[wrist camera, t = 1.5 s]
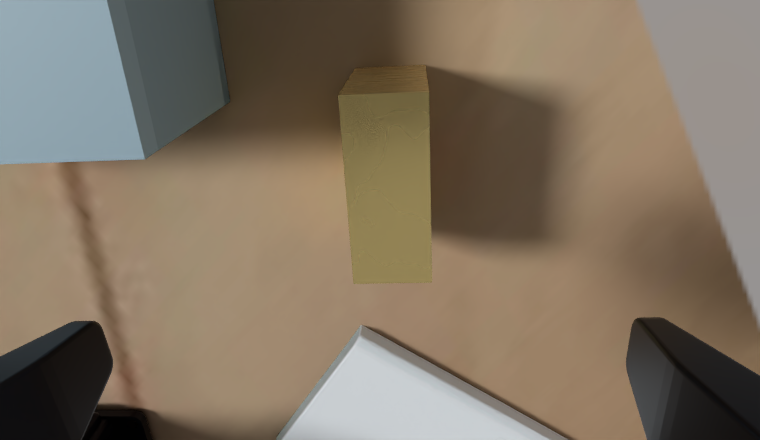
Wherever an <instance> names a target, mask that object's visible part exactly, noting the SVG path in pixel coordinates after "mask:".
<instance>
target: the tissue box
mask: <svg viewBox="0 0 760 440" xmlns="http://www.w3.org/2000/svg"><path fill="white" fill-rule="evenodd" d="M229 102H230V97H229V91H228V85H227V79H226V73H225V67H224V61H223V55H222V49H221V43H220V37H219V31H218V25H217V19H216V12H215V6H214V0H0V164H21V163H51V162H80V161H109V160H139V159H146V158H147V157H149V156H150V155H152V154H153V153H155V152H156V151H158V150H159V149H161V148H162V147H164V146H165V145H167V144H168V143H170V142H171V141H173V140H174V139H176V138H177V137H179V136H180V135H182V134H183V133H185V132H186V131H187V130H189V129H190V128H192V127H193V126H195V125H196V124H198V123H199V122H201V121H202V120H204V119H205V118H207V117H208V116H210V115H211V114H213V113H214V112H216V111H217V110H219V109H220V108H222V107H223V106H224V105H226V104H227V103H229Z"/></svg>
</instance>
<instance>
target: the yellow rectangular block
mask: <svg viewBox="0 0 760 440" xmlns="http://www.w3.org/2000/svg"><path fill="white" fill-rule="evenodd" d="M338 102H339V114H340V126H341V138H342V150H343V162H344V174H345V186H346V198H347V210H348V222H349V234H350V246H351V258H352V270H353V282H354V284H369V283H430V282H432V251H431V184H430V117H429V87H428V80H427V73H426V67H425V65H412V66H390V67H368V68H355V69H354V71H353V73H352V74H351V76H350V77H349V79H348V80H347V82H346V83H345V85H344V87H343V88H342V90H341V91H340V93H339V94H338Z"/></svg>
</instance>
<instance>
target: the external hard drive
mask: <svg viewBox="0 0 760 440" xmlns="http://www.w3.org/2000/svg"><path fill="white" fill-rule="evenodd" d="M276 440H568V439H567V438H565V437H563V436H561V435H559V434H558V433H556V432H554V431H552V430H551V429H549V428H547V427H545V426H543V425H542V424H540V423H538V422H536V421H534V420H533V419H531V418H529V417H527V416H525V415H524V414H522V413H520V412H518V411H516V410H515V409H513V408H511V407H509V406H508V405H506V404H504V403H502V402H500V401H499V400H497V399H495V398H493V397H491V396H490V395H488V394H486V393H484V392H482V391H480V390H479V389H477V388H475V387H473V386H471V385H470V384H468V383H466V382H464V381H462V380H461V379H459V378H457V377H455V376H453V375H452V374H450V373H448V372H446V371H444V370H443V369H441V368H439V367H437V366H435V365H434V364H432V363H430V362H428V361H426V360H425V359H423V358H421V357H419V356H417V355H415V354H414V353H412V352H410V351H408V350H406V349H405V348H403V347H401V346H399V345H397V344H396V343H394V342H392V341H390V340H388V339H386V338H385V337H383V336H381V335H379V334H377V333H375V332H374V331H372V330H370V329H368V328H367V327H365V326H363V325H361V326H360V327H359V328H358V330H357V331H356V333H355V334H354V335H353V336H352V338H351V339H350V341H349V342H348V343H347V345H346V346H345V347H344V349H343V350H342V351H341V353H340V354H339V355H338V356H337V358H336V359H335V360H334V362H333V363H332V364H331V366H330V367H329V368H328V370H327V371H326V372H325V374H324V375H323V376H322V378H321V379H320V380H319V382H318V383H317V384H316V386H315V387H314V388H313V390H312V391H311V392H310V394H309V395H308V396H307V398H306V399H305V400H304V402H303V403H302V404H301V405H300V407H299V408H298V409H297V411H296V412H295V413H294V415H293V416H292V417H291V419H290V420H289V421H288V423H287V424H286V425H285V427H284V428H283V429H282V430H281V432H280V433H279V434H278V436H277V438H276Z"/></svg>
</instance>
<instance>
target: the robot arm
mask: <svg viewBox="0 0 760 440" xmlns="http://www.w3.org/2000/svg"><path fill="white" fill-rule="evenodd" d="M112 367H113V358H112V355H111V352H110V349H109V346H108V343H107V340H106V338H105V335H104V332H103V329H102V327H101V325H100V324H99V323H98V322H95V321H74V322H70V323H68V324H66V325H64V326H62V327H60V328H58V329H56V330H54V331H52V332H50V333H48V334H46V335H44V336H41V337H39V338H37V339H35V340H33V341H31V342H29V343H27V344H25V345H23V346H21V347H19V348H17V349H15V350H13V351H11V352H9V353H6V354H4V355H2V356H0V440H153V439H152V436H151V433H150V429H149V426H148V423H147V419H146V417H145V415H144V414H143V413H141V412H139V411H135V410H95V409H96V406H97V404H98V402H99V399H100V397H101V395H102V393H103V390H104V388H105V386H106V384H107V381H108V379H109V377H110V374H111V372H112ZM626 368H627V373H628V377H629V380H630V384H631V387H632V391H633V394H634V397H635V401H636V404H637V407H638V411H639V414H640V417H641V421H642V424H643V428H644V431H645V434H646V438H647V440H760V375H758V374H756V373H755V372H753V371H751V370H749V369H748V368H746V367H744V366H743V365H741V364H739V363H738V362H736V361H734V360H733V359H731V358H729V357H728V356H726V355H724V354H723V353H721V352H719V351H718V350H716V349H714V348H713V347H711V346H709V345H708V344H706V343H704V342H703V341H701V340H699V339H698V338H696V337H694V336H693V335H691V334H689V333H688V332H686V331H684V330H683V329H681V328H679V327H678V326H676V325H674V324H673V323H671V322H669V321H668V320H666V319H664V318H660V317H651V318H637V319H635V320H634V322H633V324H632V327H631V333H630V339H629V345H628V351H627V357H626Z"/></svg>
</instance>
